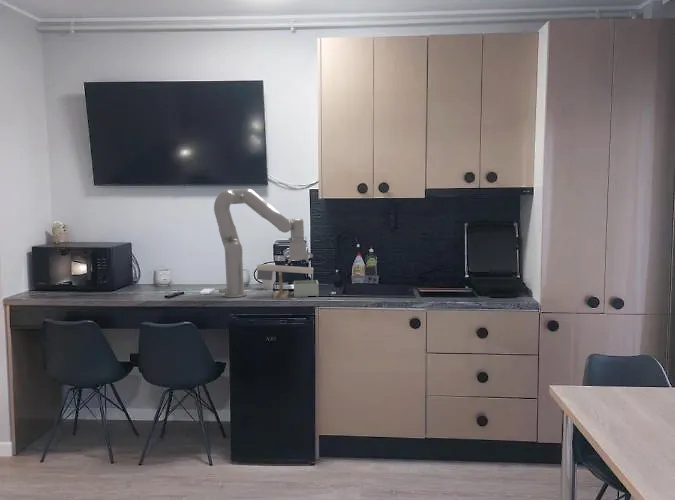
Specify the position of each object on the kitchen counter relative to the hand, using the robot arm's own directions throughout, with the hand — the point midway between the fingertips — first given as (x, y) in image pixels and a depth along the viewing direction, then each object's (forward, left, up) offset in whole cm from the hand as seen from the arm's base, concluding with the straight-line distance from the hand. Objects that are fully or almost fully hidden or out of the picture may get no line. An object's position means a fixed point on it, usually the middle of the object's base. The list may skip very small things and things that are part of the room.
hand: (298, 269), depth 349 cm
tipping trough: (-8, -5, -4) cm, 11 cm away
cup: (+4, -10, -13) cm, 17 cm away
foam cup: (-18, +15, -13) cm, 27 cm away
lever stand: (-10, -10, -13) cm, 19 cm away
